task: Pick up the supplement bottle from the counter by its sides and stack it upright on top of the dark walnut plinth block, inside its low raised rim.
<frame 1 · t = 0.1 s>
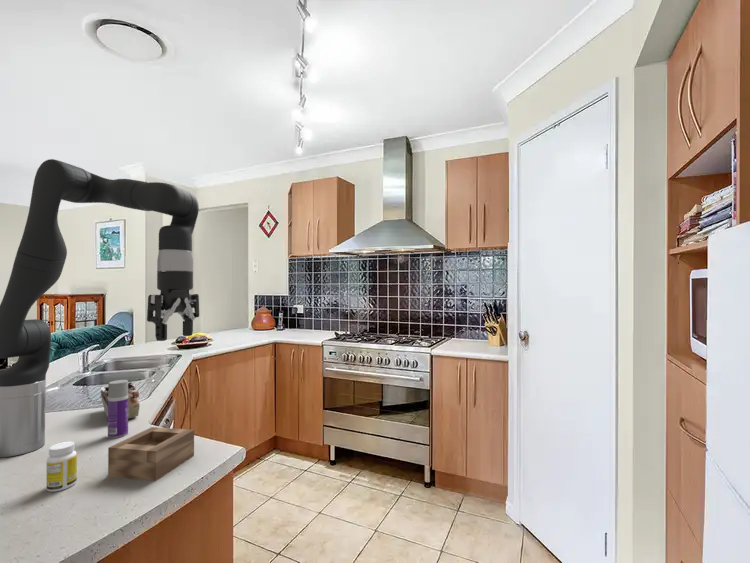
hand: (175, 338, 86), 29 cm above the countertop, tool pointing down, fingers open, 8 cm apart
decorative box: (113, 416, 118), on the countertop
walnut block: (153, 466, 84), on the countertop
supplement bottle: (61, 487, 75), on the countertop
container: (118, 435, 102), on the countertop
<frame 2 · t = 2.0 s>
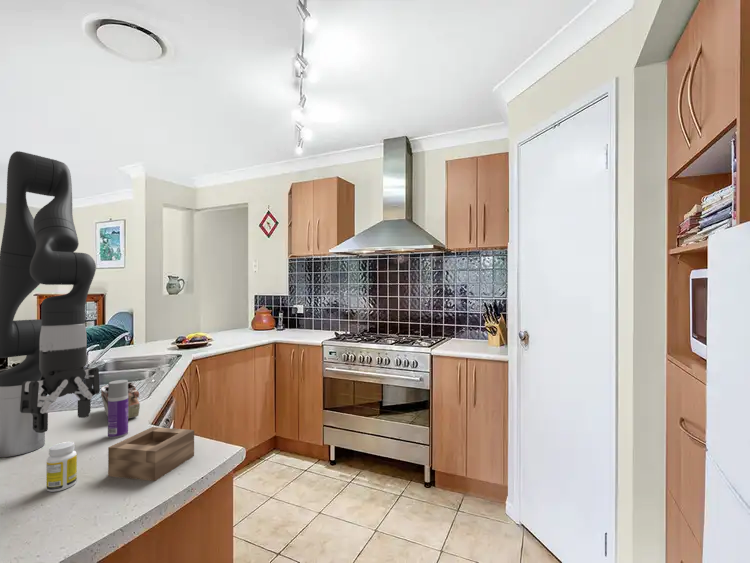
hand: (63, 424, 75), 13 cm above the countertop, tool pointing down, fingers open, 8 cm apart
nothing on the countertop moved.
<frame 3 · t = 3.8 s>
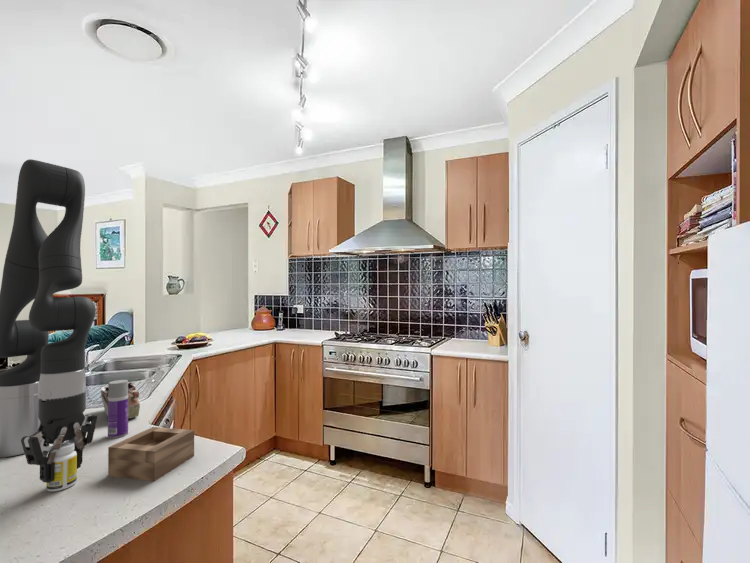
hand: (61, 474, 75), 2 cm above the countertop, tool pointing down, fingers closed on supplement bottle, 4 cm apart
supplement bottle: (61, 487, 75), on the countertop, touching gripper
everything else where it was.
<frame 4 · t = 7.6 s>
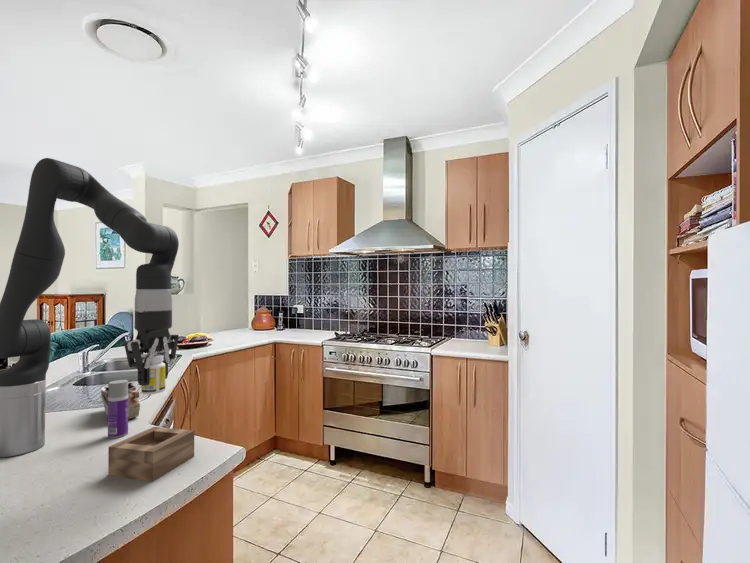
hand: (153, 381, 84), 19 cm above the countertop, tool pointing down, fingers closed on supplement bottle, 4 cm apart
supplement bottle: (153, 392, 84), point 17 cm above the countertop, touching gripper
everything else where it was.
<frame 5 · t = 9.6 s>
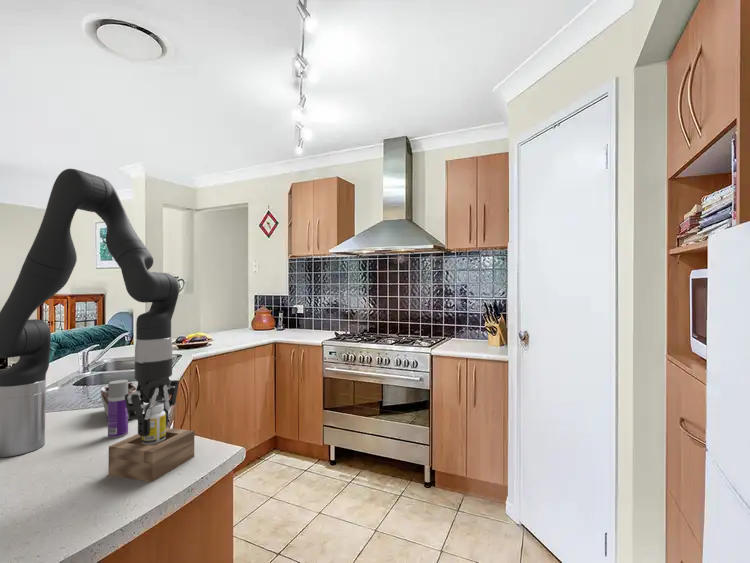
hand: (153, 430, 84), 8 cm above the countertop, tool pointing down, fingers closed on supplement bottle, 4 cm apart
supplement bottle: (153, 442, 84), point 5 cm above the countertop, touching gripper
everything else where it was.
when the fingers open (7 cm above the countertop, at t = 11.3 s): supplement bottle stays where it is, resting on walnut block.
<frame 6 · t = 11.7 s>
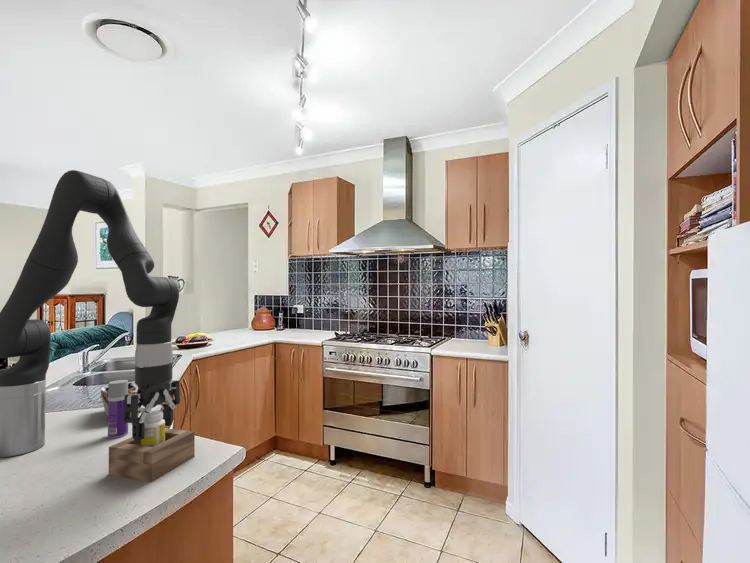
hand: (153, 432, 84), 8 cm above the countertop, tool pointing down, fingers open, 8 cm apart
walnut block: (153, 467, 84), on the countertop, touching supplement bottle
supplement bottle: (153, 450, 84), point 3 cm above the countertop, touching walnut block
everything else where it was.
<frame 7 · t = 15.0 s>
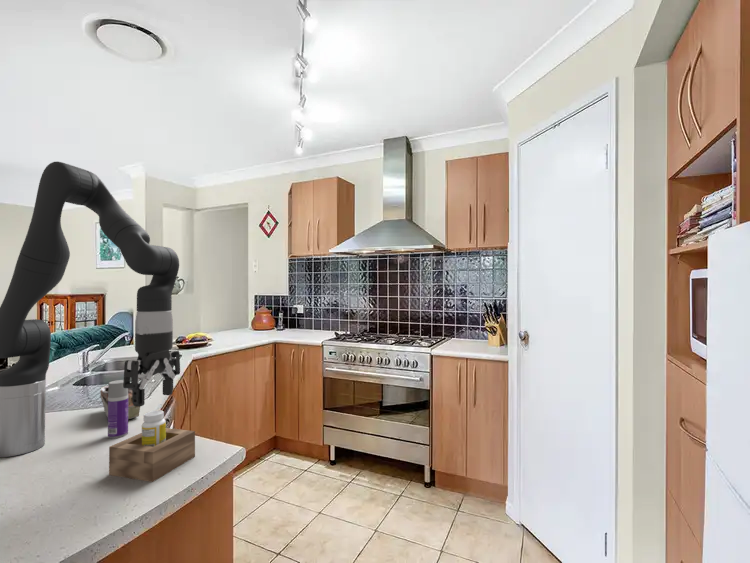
hand: (153, 400, 84), 15 cm above the countertop, tool pointing down, fingers open, 8 cm apart
nothing on the countertop moved.
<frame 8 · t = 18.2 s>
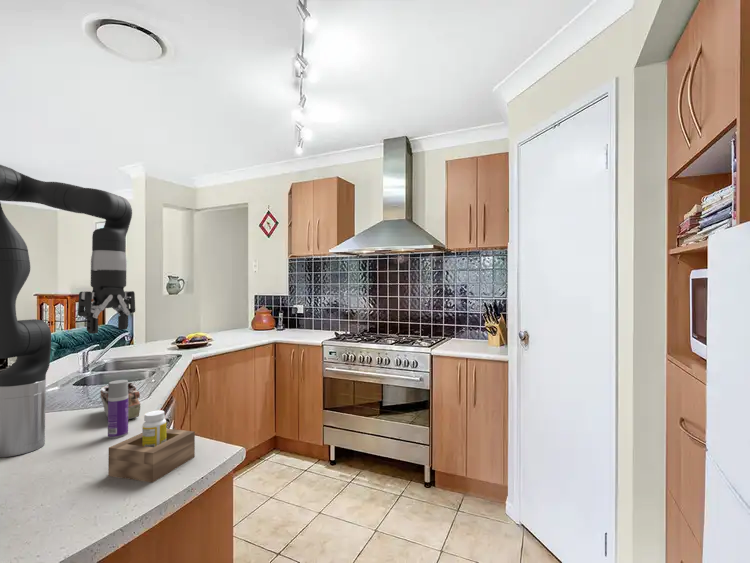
hand: (108, 331, 94), 30 cm above the countertop, tool pointing down, fingers open, 8 cm apart
nothing on the countertop moved.
at the end: supplement bottle 0.2 cm off-centre on the walnut block, point 3.8 cm above the walnut block's base; supplement bottle tilted 1°; the gripper is holding nothing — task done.
